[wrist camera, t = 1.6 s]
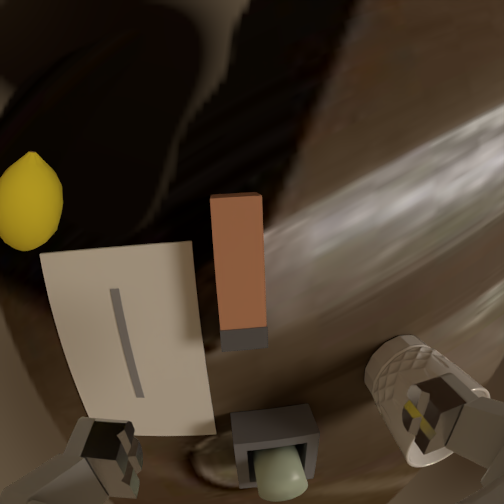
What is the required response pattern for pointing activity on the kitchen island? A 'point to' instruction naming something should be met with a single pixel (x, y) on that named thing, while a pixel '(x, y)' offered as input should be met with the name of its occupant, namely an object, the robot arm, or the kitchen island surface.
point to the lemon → (29, 203)
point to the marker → (239, 270)
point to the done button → (279, 473)
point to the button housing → (274, 437)
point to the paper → (133, 335)
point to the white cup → (399, 381)
